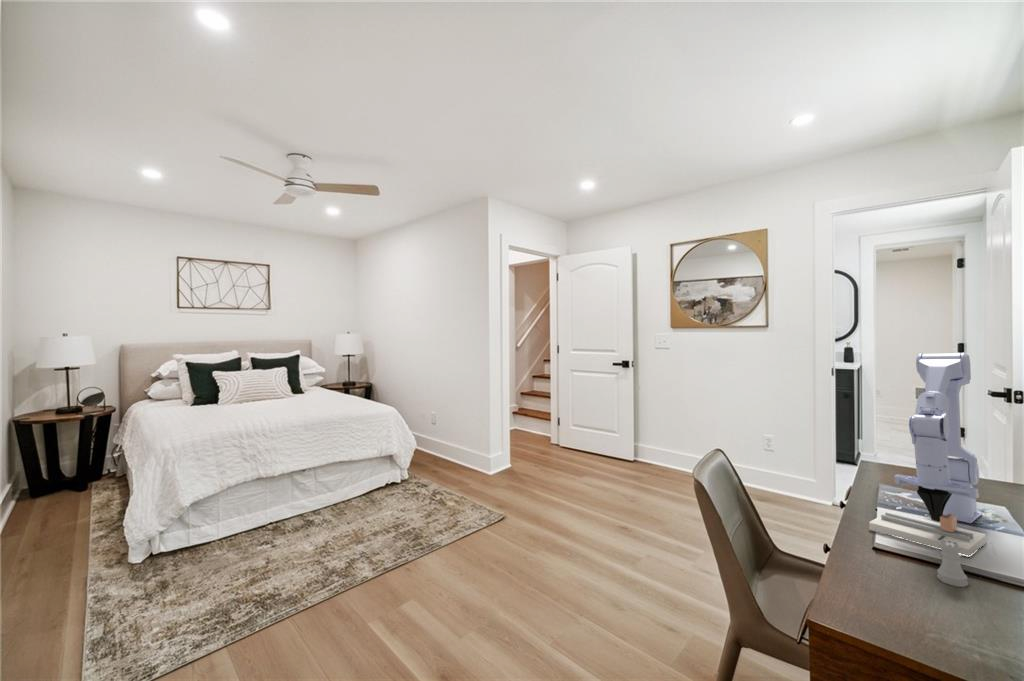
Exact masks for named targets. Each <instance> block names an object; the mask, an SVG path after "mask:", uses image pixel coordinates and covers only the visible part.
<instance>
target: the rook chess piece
mask: <svg viewBox="0 0 1024 681" xmlns="http://www.w3.org/2000/svg"><path fill="white" fill-rule="evenodd" d="M939 547H940V548H941V549H942V551H941V550H940V554H941V556H942V557H941V558H942V559H941V564H940V565H939V568H938V569H937V578H938V579H939V580H940V581H941V582H942V583H944V584H946V585H949V586H952V587H958V588H965V587H968V585H969V581H968V575H966V574H965V572H964V570H963V569H962V568H963V567H961V566H962V565H961V562H960V558H961V556H960V555H959V554H958V553H959V552H960V551H961V548H960V547H959V546H958V544H957V543H956V542H953V543H951V540H948V542H946V540H942V541H941V543H940V544H939Z"/></svg>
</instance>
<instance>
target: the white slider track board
mask: <svg viewBox="0 0 1024 681" xmlns="http://www.w3.org/2000/svg"><path fill="white" fill-rule="evenodd" d="M868 523H869V525H868V526H869V531H873V532H875V533H879V532H882V533H885V534H884V535H886V534H890V535H894V536H898V537H902V538H904V539H908V540H911V541H915V542H919V543H922V544H926V545H930V546H934V547H937V548H940V547H939V544H940V543H941V541H942V540H946V542H948V540H951V543H953V542H956V543H957V544H958V546H959V547H960V548H961V551H960V552H959V553H961V554H965V555H968V556H969V555H971V554H972V553H974V552H975V551H976V550H978V549H979V548H980V549H982V548H983V547H984V546H985V545H986V544H987V543H988V541H987V534H986V533H982V532H978V531H975V530H974V531H973V530H970V529H967V528H962V527H958V526H957V529H956V530H955V531H954V532H949V531H945V530H941V525H940V522H938V521H934V520H929V519H925V518H921V517H917V516H913V515H909V514H905V513H901V512H897V511H891V510H888V511H886V512H884V513H883V514H881V515H879V516H878V517H876V518H874V519H872V520H870V521H869V522H868ZM882 533H881V534H882ZM982 546H983V547H982ZM981 547H982V548H981ZM980 549H979V550H980ZM979 550H978V551H979Z"/></svg>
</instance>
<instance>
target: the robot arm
mask: <svg viewBox="0 0 1024 681" xmlns="http://www.w3.org/2000/svg"><path fill="white" fill-rule="evenodd" d="M915 367H916V372H917V373H918V375H919V377H920V378H921V380H922V381H923V383H925V387H924V388H925V390H924V392H921V393H920V394H919V395H918V397H917V401H916V406H915V410H914V411H915V412H914V415H910V416H909V419H908V429H909V433H910V437H911V442H912V445H914V455H915V469H916V476H911V475H904V474H898V473H897V474H895V475H894V476H893V480H894V481H893V482H894V484H897V485H906V486H910V487H915V488H916V487H917V488H918V489H917V490H916V493H917V495H918V497H920V499H921V500H922V501H923V504H924V505H925V507H926V509H927V511H928V514H929V516H930V519H931V520H930V521H934V522H938V523H940V516H942V515H943V514H952V515H954V516H956V517H957V522H962V523H967V524H972V523H973V522H974V521H975V520H977V519H978V518H980V517H981V516H982V515H983V512H981V511H978V509H977V500H978V498H980V496H979V489H978V488H974V487H973V485H974V486H975V485H977V484H978V483H979V480H980V471H979V465H978V458H977V457H976V455H975V454H974V453H973V452H971V451H970V450H968V449H966V448H964V447H963V446H962V435H961V433H962V432H961V429H962V428H961V411H960V410H961V409H960V408H961V407H960V393H961V389H962V386H966V385H969V384H970V383H971V380H972V377H971V376H972V375H971V374H972V373H971V359H970V355H969V354H967V353H966V352H955V353H951V352H949V353H946V352H945V353H923V352H922V353H921V352H920V353H919V354H918V355H916V359H915ZM953 457H955V458H953ZM956 457H957V458H956ZM961 458H962V459H961Z"/></svg>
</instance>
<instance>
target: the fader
mask: <svg viewBox="0 0 1024 681" xmlns="http://www.w3.org/2000/svg"><path fill="white" fill-rule="evenodd" d="M939 523H940V525H941V530H945V531H949V532H954V531H955V530H956V529H957V527H958V520H957V517H956V516H954V515H952V514H943V515H942V516H940V521H939Z"/></svg>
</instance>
